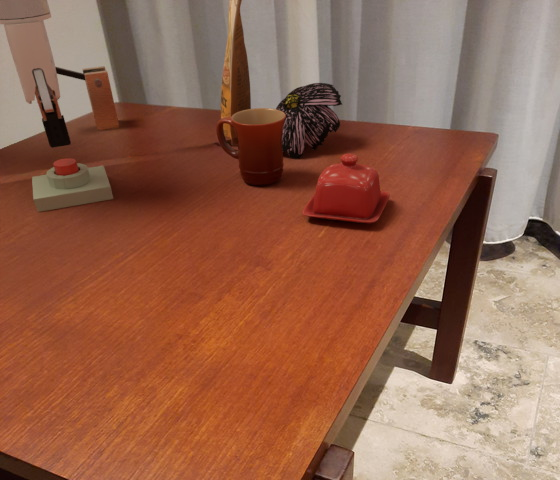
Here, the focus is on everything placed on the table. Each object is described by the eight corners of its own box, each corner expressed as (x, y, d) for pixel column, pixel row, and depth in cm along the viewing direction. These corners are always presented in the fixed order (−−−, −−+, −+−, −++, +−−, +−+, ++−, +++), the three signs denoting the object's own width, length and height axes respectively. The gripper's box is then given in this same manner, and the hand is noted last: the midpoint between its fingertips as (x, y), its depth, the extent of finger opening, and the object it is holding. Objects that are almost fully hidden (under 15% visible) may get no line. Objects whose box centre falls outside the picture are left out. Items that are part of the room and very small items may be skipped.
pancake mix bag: (258, 117, 121) (249, -42, 102) (254, 148, 106) (242, -31, 88) (228, 118, 121) (213, -41, 103) (219, 149, 107) (200, -30, 88)
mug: (295, 172, 96) (293, 110, 90) (276, 192, 90) (273, 126, 84) (233, 165, 100) (227, 104, 93) (210, 183, 94) (203, 120, 87)
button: (57, 178, 89) (53, 167, 88) (55, 170, 91) (52, 160, 90) (79, 174, 90) (76, 164, 89) (78, 167, 92) (75, 156, 91)
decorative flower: (247, 88, 103) (322, 55, 102) (263, 139, 113) (332, 110, 112) (269, 133, 95) (350, 98, 94) (285, 184, 105) (358, 152, 104)
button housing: (37, 212, 88) (29, 188, 85) (36, 189, 95) (28, 166, 92) (113, 199, 91) (107, 175, 88) (106, 177, 98) (100, 154, 95)
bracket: (81, 143, 112) (64, 79, 104) (77, 129, 119) (61, 68, 111) (140, 134, 115) (128, 71, 107) (133, 121, 122) (121, 61, 114)
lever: (38, 75, 104) (39, 61, 103) (37, 69, 108) (38, 56, 107) (104, 91, 110) (106, 78, 109) (102, 85, 113) (103, 72, 112)
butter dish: (321, 192, 90) (321, 138, 84) (391, 199, 87) (397, 144, 81) (299, 223, 82) (298, 165, 76) (376, 232, 79) (381, 173, 73)
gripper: (-8, 3, 80) (35, 134, 92) (-12, 17, 69) (37, 164, 81) (46, -2, 82) (80, 127, 94) (50, 11, 71) (89, 156, 83)
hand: (60, 144), depth 87 cm, fingers closed
